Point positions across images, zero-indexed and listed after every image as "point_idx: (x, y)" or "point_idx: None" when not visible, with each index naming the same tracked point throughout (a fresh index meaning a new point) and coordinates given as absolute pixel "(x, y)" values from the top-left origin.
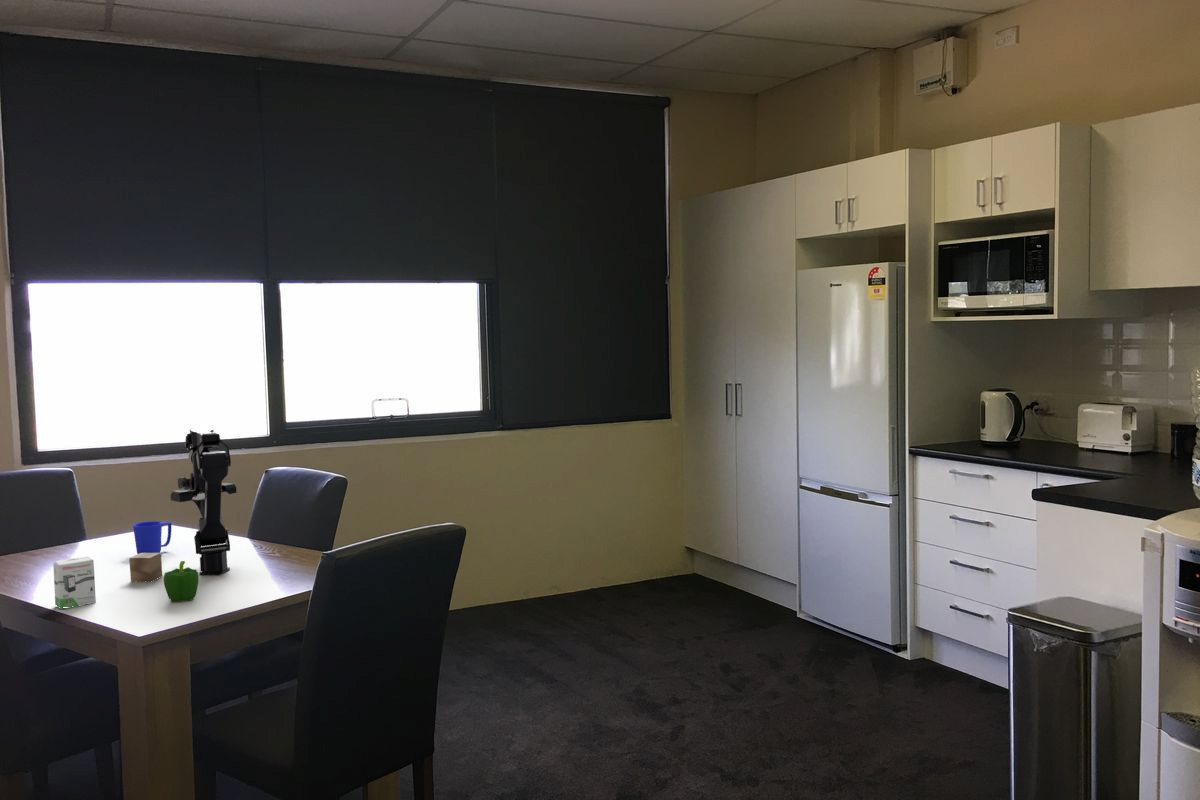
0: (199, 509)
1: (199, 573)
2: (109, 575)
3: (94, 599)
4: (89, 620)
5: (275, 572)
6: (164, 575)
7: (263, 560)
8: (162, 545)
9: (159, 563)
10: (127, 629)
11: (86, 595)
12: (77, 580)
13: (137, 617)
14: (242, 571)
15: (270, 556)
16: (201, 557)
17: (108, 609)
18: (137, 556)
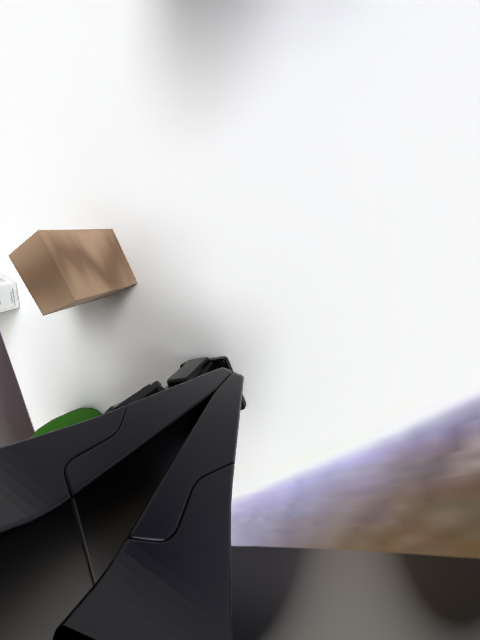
0: (118, 418)
1: (181, 365)
2: (66, 110)
3: (10, 309)
4: (10, 359)
5: (264, 499)
6: (35, 433)
7: (367, 447)
8: None
9: (98, 295)
10: (32, 416)
11: None
12: None
13: (45, 404)
14: (245, 437)
15: (434, 451)
16: (166, 387)
17: (28, 349)
18: (24, 265)
